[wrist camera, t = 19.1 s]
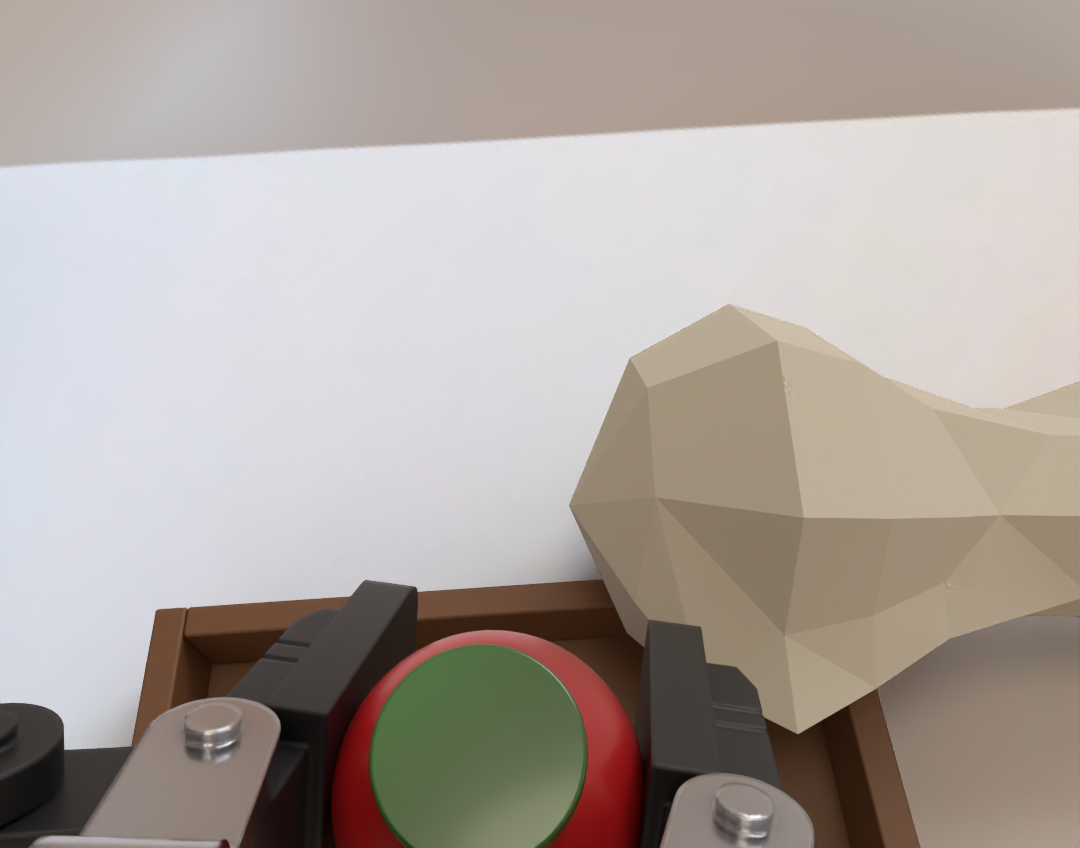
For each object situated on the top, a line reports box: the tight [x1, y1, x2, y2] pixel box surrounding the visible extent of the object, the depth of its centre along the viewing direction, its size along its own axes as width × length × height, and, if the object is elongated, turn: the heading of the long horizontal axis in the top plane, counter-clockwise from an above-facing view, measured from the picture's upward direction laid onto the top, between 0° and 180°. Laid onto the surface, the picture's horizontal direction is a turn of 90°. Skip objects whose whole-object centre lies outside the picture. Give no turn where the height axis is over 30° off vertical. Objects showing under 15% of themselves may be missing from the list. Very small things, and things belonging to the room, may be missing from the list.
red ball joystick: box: [331, 630, 644, 848], centre depth 13 cm, size 3×3×11 cm
